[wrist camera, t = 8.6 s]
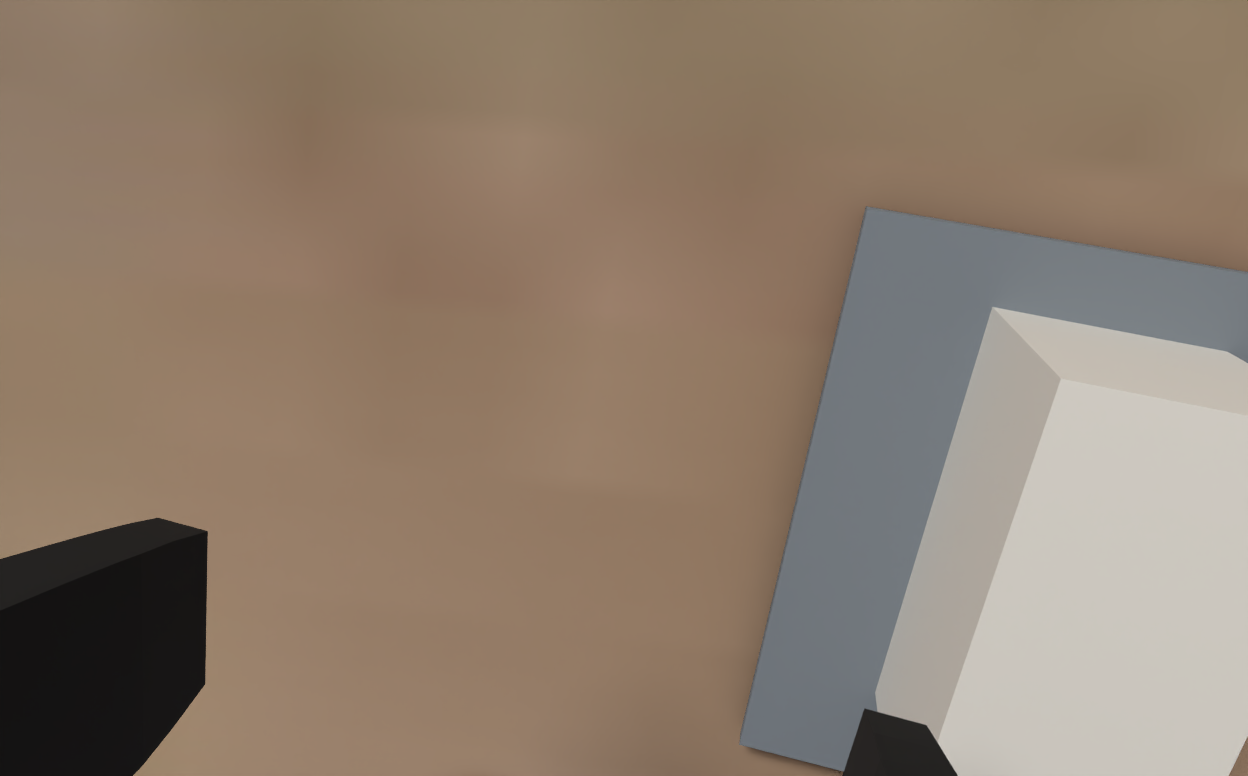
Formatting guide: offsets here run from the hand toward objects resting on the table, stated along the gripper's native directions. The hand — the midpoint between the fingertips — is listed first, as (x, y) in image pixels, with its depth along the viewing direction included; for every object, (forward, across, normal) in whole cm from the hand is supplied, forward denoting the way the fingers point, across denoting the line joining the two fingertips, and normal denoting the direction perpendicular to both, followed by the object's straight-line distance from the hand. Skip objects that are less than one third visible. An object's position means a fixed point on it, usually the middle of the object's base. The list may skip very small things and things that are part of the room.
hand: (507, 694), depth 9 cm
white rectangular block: (+9, -8, +1) cm, 12 cm away
